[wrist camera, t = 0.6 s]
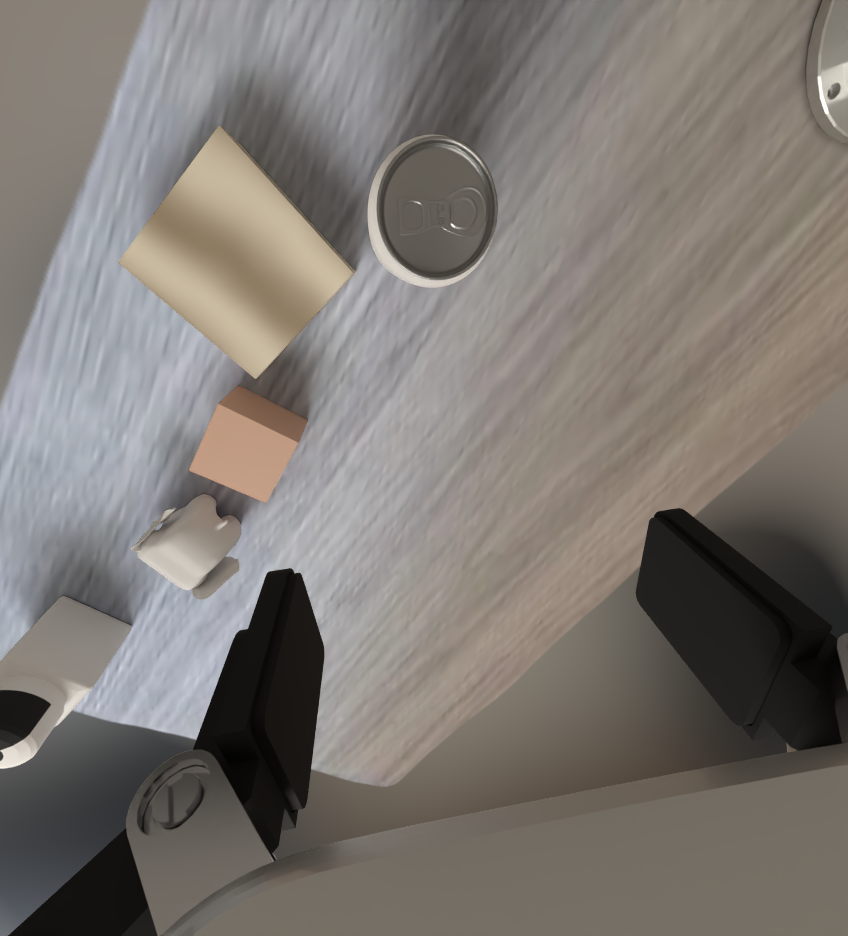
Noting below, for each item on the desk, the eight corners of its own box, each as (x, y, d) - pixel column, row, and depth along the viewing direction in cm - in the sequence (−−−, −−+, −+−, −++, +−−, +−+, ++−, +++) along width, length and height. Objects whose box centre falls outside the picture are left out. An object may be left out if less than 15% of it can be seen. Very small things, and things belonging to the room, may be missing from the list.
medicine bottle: (29, 634, 41) (-89, 762, 31) (63, 593, 40) (-51, 714, 29) (100, 662, 44) (14, 789, 33) (134, 625, 42) (55, 746, 32)
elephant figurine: (131, 523, 37) (81, 576, 31) (208, 467, 35) (173, 511, 29) (197, 573, 40) (164, 630, 34) (271, 524, 39) (251, 575, 32)
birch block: (240, 144, 26) (219, 125, 22) (355, 272, 30) (353, 273, 26) (150, 262, 28) (117, 262, 25) (268, 366, 32) (255, 379, 29)
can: (459, 276, 31) (506, 283, 20) (375, 284, 30) (376, 295, 20) (456, 173, 28) (508, 117, 17) (362, 180, 27) (356, 127, 17)
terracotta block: (239, 384, 33) (218, 403, 28) (308, 420, 35) (298, 442, 30) (212, 444, 35) (188, 470, 30) (279, 474, 37) (266, 503, 32)
